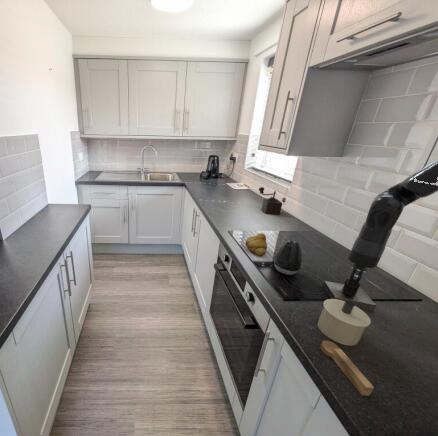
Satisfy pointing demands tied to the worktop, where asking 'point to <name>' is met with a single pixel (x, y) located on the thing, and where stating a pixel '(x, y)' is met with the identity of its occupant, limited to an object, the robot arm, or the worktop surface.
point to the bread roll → (257, 244)
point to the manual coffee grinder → (270, 204)
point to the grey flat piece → (358, 300)
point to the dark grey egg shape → (288, 258)
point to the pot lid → (346, 313)
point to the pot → (339, 330)
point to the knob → (346, 286)
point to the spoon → (347, 367)
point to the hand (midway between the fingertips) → (348, 291)
